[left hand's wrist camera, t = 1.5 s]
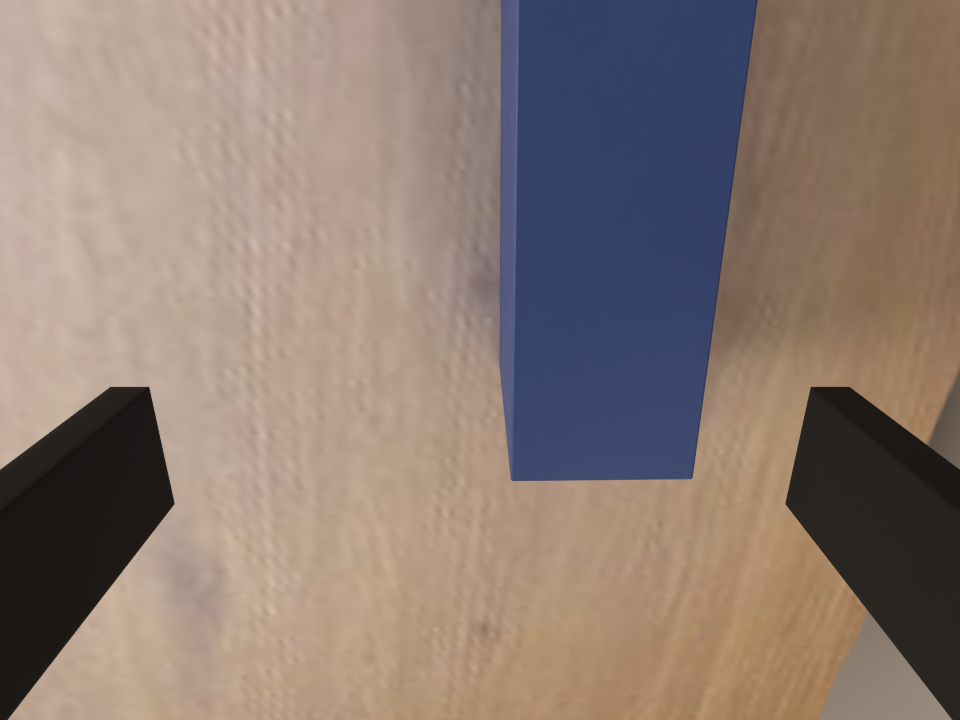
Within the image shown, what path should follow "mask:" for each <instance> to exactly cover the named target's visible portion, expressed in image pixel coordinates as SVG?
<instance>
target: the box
mask: <svg viewBox="0 0 960 720" xmlns="http://www.w3.org/2000/svg"><path fill="white" fill-rule="evenodd" d="M756 7H757V0H501V234H500V374H501V384H502V394H503V404H504V415H505V425H506V435H507V445H508V455H509V465H510V475H511V480H512V481H556V480H647V479H692V478H693V470H694V463H695V456H696V448H697V441H698V434H699V426H700V419H701V412H702V404H703V397H704V390H705V382H706V375H707V367H708V360H709V353H710V345H711V338H712V331H713V323H714V316H715V309H716V301H717V294H718V287H719V279H720V272H721V264H722V257H723V250H724V242H725V235H726V228H727V220H728V213H729V206H730V198H731V191H732V183H733V176H734V169H735V161H736V154H737V147H738V139H739V132H740V125H741V117H742V110H743V103H744V95H745V88H746V80H747V73H748V66H749V58H750V51H751V44H752V36H753V29H754V22H755V14H756Z"/></svg>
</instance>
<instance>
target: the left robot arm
mask: <svg viewBox="0 0 960 720" xmlns="http://www.w3.org/2000/svg"><path fill="white" fill-rule="evenodd" d="M174 504H175V503H174V499H173V494H172V490H171V485H170V480H169V476H168V471H167V467H166V462H165V457H164V453H163V448H162V444H161V439H160V435H159V430H158V425H157V421H156V416H155V412H154V407H153V402H152V398H151V393H150V389H149V387H110V388H109V389H107V390H106V391H105V392H103V393H102V394H101V395H99V396H98V397H97V398H95V399H94V400H93V401H91V402H90V403H89V404H87V405H86V406H85V407H83V408H82V409H81V410H79V411H78V412H77V413H75V414H74V415H73V416H71V417H70V418H69V419H67V420H66V421H65V422H63V423H62V424H61V425H59V426H58V427H57V428H55V429H54V430H53V431H51V432H50V433H49V434H47V435H46V436H45V437H43V438H42V439H41V440H39V441H38V442H37V443H35V444H34V445H33V446H31V447H30V448H29V449H27V450H26V451H25V452H23V453H22V454H21V455H19V456H18V457H17V458H15V459H14V460H13V461H11V462H10V463H9V464H7V465H6V466H5V467H3V468H2V469H1V470H0V720H8V719H9V717H10V716H11V715H12V713H13V712H14V711H15V709H16V708H17V707H18V706H19V704H20V703H21V702H22V700H23V699H24V698H25V697H26V695H27V694H28V693H29V691H30V690H31V689H32V688H33V686H34V685H35V684H36V682H37V681H38V680H39V678H40V677H41V676H42V675H43V673H44V672H45V671H46V669H47V668H48V667H49V666H50V664H51V663H52V662H53V660H54V659H55V658H56V657H57V655H58V654H59V653H60V651H61V650H62V649H63V647H64V646H65V645H66V644H67V642H68V641H69V640H70V638H71V637H72V636H73V635H74V633H75V632H76V631H77V629H78V628H79V627H80V626H81V624H82V623H83V622H84V620H85V619H86V618H87V616H88V615H89V614H90V613H91V611H92V610H93V609H94V607H95V606H96V605H97V604H98V602H99V601H100V600H101V598H102V597H103V596H104V595H105V593H106V592H107V591H108V589H109V588H110V587H111V585H112V584H113V583H114V582H115V580H116V579H117V578H118V576H119V575H120V574H121V573H122V571H123V570H124V569H125V567H126V566H127V565H128V564H129V562H130V561H131V560H132V558H133V557H134V556H135V554H136V553H137V552H138V551H139V549H140V548H141V547H142V545H143V544H144V543H145V542H146V540H147V539H148V538H149V536H150V535H151V534H152V533H153V531H154V530H155V529H156V527H157V526H158V525H159V523H160V522H161V521H162V520H163V518H164V517H165V516H166V514H167V513H168V512H169V511H170V509H171V508H172V507H173V505H174ZM785 504H786V505H787V507H788V508H789V509H790V511H791V512H792V513H793V514H794V516H795V517H796V518H797V520H798V521H799V522H800V523H801V525H802V526H803V527H804V529H805V530H806V531H807V533H808V534H809V535H810V536H811V538H812V539H813V540H814V542H815V543H816V544H817V545H818V547H819V548H820V549H821V551H822V552H823V553H824V554H825V556H826V557H827V558H828V560H829V561H830V562H831V564H832V565H833V566H834V567H835V569H836V570H837V571H838V573H839V574H840V575H841V576H842V578H843V579H844V580H845V582H846V583H847V584H848V585H849V587H850V588H851V589H852V591H853V592H854V593H855V595H856V596H857V597H858V598H859V600H860V601H861V602H862V604H863V605H864V606H865V607H866V609H867V610H868V611H869V613H870V614H871V615H872V616H873V618H874V619H875V620H876V622H877V623H878V624H879V626H880V627H881V628H882V629H883V631H884V632H885V633H886V634H887V636H888V637H889V638H890V640H891V641H892V642H893V644H894V645H895V646H896V647H897V649H898V650H899V651H900V653H901V654H902V655H903V657H904V658H905V659H906V660H907V662H908V663H909V664H910V666H911V667H912V668H913V669H914V671H915V672H916V673H917V674H918V676H919V677H920V678H921V680H922V681H923V682H924V684H925V685H926V686H927V687H928V689H929V690H930V691H931V693H932V694H933V695H934V697H935V698H936V699H937V700H938V702H939V703H940V704H941V706H942V707H943V708H944V709H945V711H946V712H947V713H948V715H949V716H950V717H951V719H952V720H960V470H959V469H958V468H957V467H955V466H954V465H953V464H951V463H950V462H949V461H947V460H946V459H945V458H943V457H942V456H941V455H939V454H938V453H937V452H935V451H934V450H933V449H931V448H930V447H929V446H927V445H926V444H925V443H923V442H922V441H921V440H919V439H918V438H917V437H915V436H914V435H913V434H911V433H910V432H909V431H907V430H906V429H905V428H903V427H902V426H901V425H899V424H898V423H897V422H895V421H894V420H893V419H891V418H890V417H889V416H887V415H886V414H885V413H883V412H882V411H881V410H879V409H878V408H877V407H875V406H874V405H873V404H871V403H870V402H869V401H867V400H866V399H865V398H863V397H862V396H861V395H859V394H858V393H857V392H855V391H854V390H853V389H851V388H850V387H811V389H810V393H809V398H808V402H807V407H806V412H805V416H804V421H803V425H802V430H801V435H800V439H799V444H798V448H797V453H796V457H795V462H794V467H793V471H792V476H791V480H790V485H789V490H788V494H787V499H786V503H785Z"/></svg>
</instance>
